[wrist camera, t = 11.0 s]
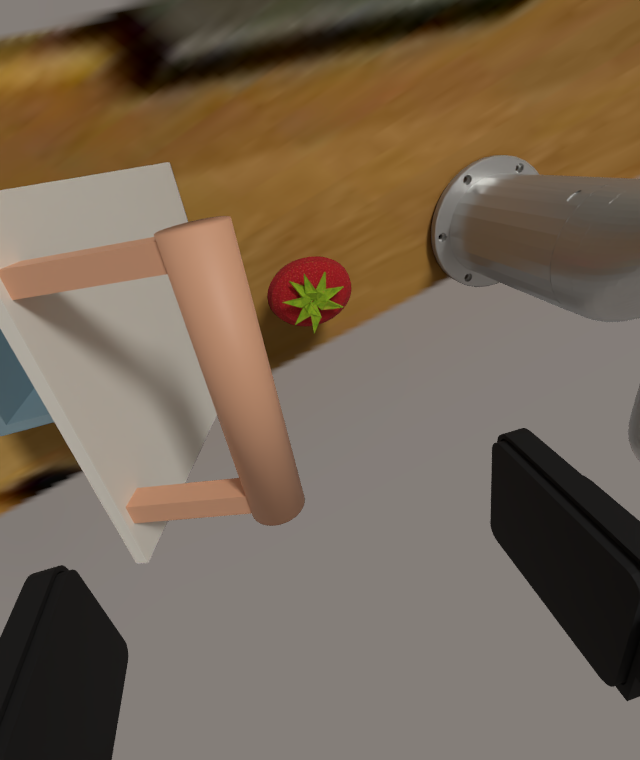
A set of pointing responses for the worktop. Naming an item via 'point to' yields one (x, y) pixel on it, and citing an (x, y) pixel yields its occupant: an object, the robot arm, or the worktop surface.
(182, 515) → the flap
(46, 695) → the robot arm
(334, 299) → the strawberry
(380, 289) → the worktop surface
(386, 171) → the worktop surface
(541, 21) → the worktop surface
